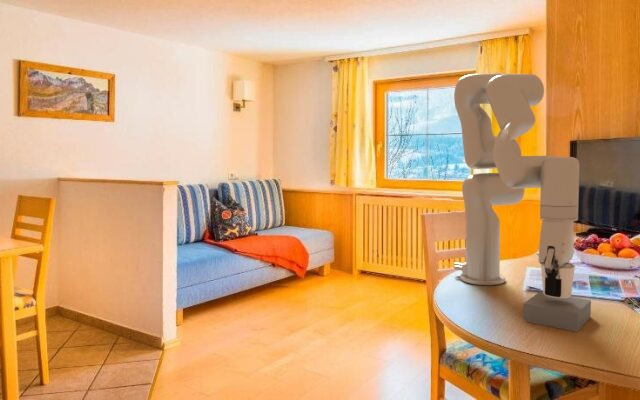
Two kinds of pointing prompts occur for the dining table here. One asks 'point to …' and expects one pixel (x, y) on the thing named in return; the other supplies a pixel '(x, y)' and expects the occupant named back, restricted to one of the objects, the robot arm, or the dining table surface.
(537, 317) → the slate plinth
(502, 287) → the dining table surface
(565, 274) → the white cup
